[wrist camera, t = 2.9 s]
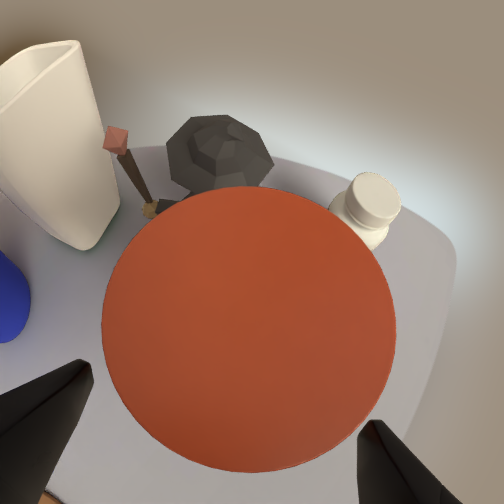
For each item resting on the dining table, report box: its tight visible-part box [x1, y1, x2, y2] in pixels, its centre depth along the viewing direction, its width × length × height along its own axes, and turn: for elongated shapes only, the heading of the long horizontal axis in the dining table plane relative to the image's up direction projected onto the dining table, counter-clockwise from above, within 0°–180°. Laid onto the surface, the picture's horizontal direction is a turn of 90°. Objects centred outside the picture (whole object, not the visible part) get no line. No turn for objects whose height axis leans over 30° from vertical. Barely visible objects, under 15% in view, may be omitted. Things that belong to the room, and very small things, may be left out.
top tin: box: [101, 186, 396, 473], centre depth 10 cm, size 6×6×10 cm
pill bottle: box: [327, 172, 401, 252], centre depth 19 cm, size 4×4×8 cm
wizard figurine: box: [102, 115, 274, 219], centre depth 17 cm, size 8×6×12 cm
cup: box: [0, 40, 120, 250], centre depth 15 cm, size 7×7×15 cm
